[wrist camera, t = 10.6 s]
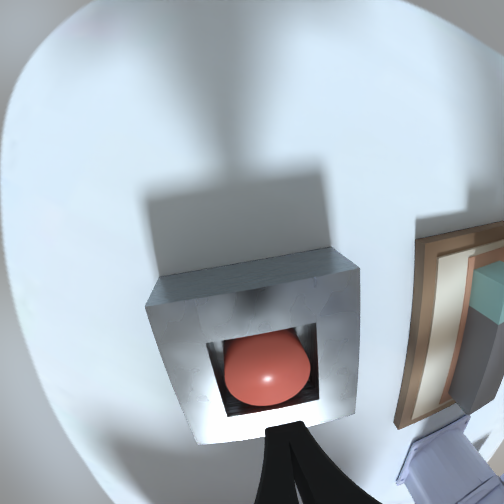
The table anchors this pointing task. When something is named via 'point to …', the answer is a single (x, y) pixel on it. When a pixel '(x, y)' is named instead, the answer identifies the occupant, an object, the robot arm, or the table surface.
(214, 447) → the table surface
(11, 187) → the table surface
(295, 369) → the button
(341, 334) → the button housing
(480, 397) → the marker
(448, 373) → the wooden picture frame
